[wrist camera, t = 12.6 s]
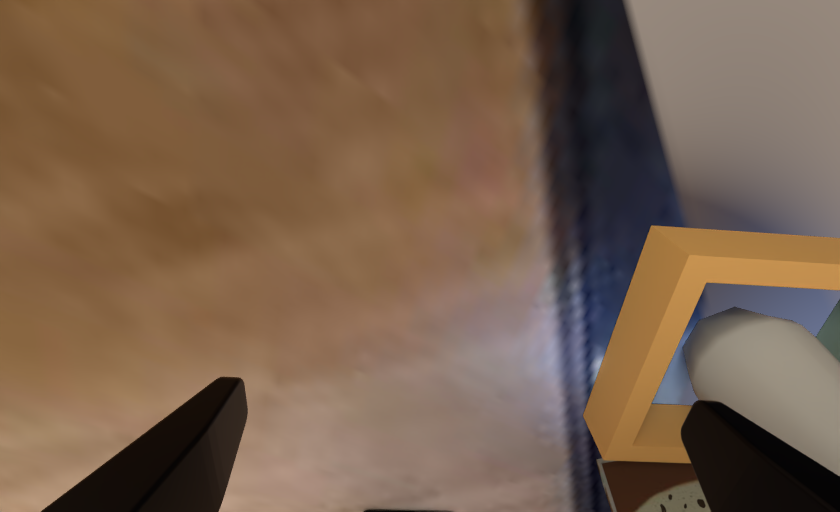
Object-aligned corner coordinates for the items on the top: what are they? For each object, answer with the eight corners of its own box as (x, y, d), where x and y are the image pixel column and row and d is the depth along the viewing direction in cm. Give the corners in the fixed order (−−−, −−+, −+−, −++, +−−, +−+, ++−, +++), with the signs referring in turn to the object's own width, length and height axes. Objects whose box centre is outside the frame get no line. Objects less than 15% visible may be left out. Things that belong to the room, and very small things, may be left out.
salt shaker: (657, 320, 22) (932, 630, 10) (772, 275, 21) (1220, 567, 9) (679, 392, 24) (921, 708, 13) (783, 356, 23) (1149, 665, 12)
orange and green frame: (904, 437, 27) (970, 490, 24) (579, 424, 26) (603, 478, 22) (1080, 238, 20) (1201, 274, 17) (657, 209, 19) (704, 242, 16)
